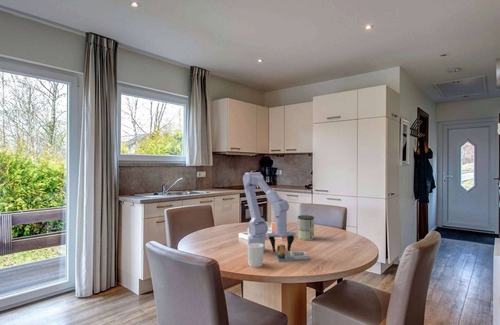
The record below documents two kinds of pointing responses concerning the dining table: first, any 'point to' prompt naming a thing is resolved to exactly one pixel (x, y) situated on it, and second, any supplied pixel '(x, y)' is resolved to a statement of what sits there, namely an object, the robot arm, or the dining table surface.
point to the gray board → (294, 257)
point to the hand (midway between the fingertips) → (281, 251)
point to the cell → (281, 251)
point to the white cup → (255, 254)
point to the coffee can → (305, 227)
